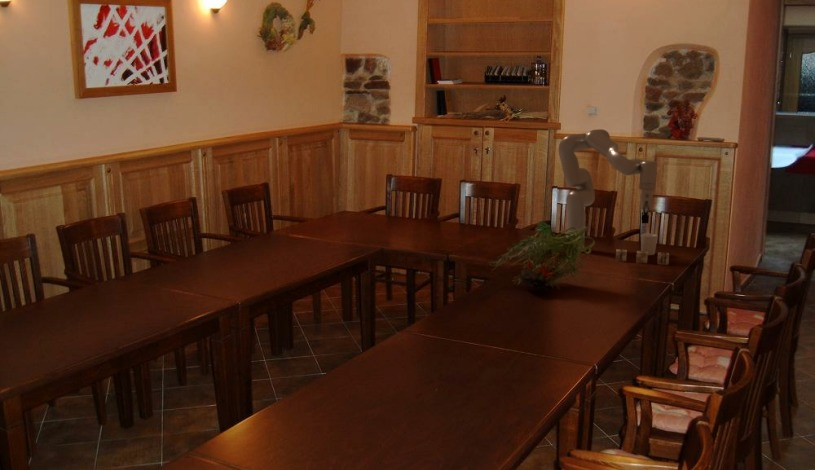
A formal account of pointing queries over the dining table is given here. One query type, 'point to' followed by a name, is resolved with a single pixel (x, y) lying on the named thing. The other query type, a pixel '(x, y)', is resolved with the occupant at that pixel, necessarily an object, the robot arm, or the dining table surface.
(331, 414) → the dining table surface
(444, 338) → the dining table surface
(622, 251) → the marked block left
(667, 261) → the marked block right
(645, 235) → the white cup
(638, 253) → the plain maple block
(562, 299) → the dining table surface
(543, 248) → the plant
